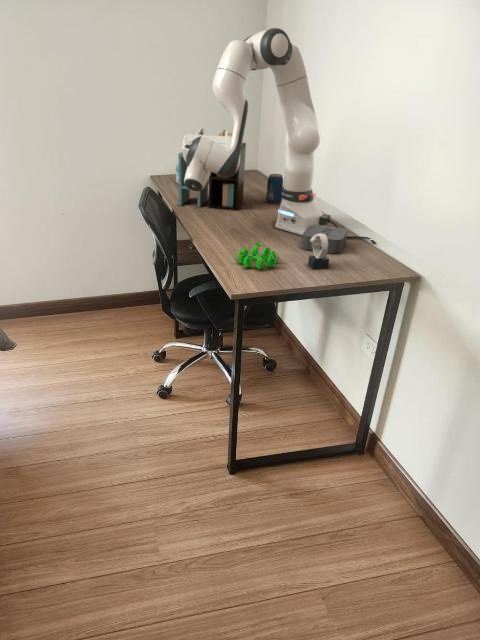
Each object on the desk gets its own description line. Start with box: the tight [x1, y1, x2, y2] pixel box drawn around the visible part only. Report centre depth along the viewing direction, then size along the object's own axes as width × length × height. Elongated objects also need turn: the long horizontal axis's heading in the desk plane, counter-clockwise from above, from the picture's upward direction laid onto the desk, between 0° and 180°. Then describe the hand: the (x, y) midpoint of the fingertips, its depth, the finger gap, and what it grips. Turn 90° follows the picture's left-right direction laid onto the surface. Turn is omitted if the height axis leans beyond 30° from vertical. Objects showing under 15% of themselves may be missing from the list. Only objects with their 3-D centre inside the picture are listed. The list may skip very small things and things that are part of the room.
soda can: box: [265, 173, 284, 205], centre depth 245 cm, size 7×7×12 cm
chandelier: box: [234, 242, 280, 271], centre depth 183 cm, size 15×15×7 cm
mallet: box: [218, 132, 233, 137], centre depth 223 cm, size 15×7×4 cm, turn 162°
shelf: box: [208, 142, 247, 211], centre depth 236 cm, size 11×13×26 cm
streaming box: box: [301, 225, 348, 254], centre depth 198 cm, size 14×14×5 cm
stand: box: [177, 151, 209, 208], centre depth 242 cm, size 12×10×22 cm
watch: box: [307, 233, 330, 270], centre depth 180 cm, size 6×8×11 cm
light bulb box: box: [175, 160, 179, 185], centre depth 274 cm, size 11×7×11 cm, turn 17°
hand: (214, 130), depth 207 cm, fingers open, 8 cm apart
